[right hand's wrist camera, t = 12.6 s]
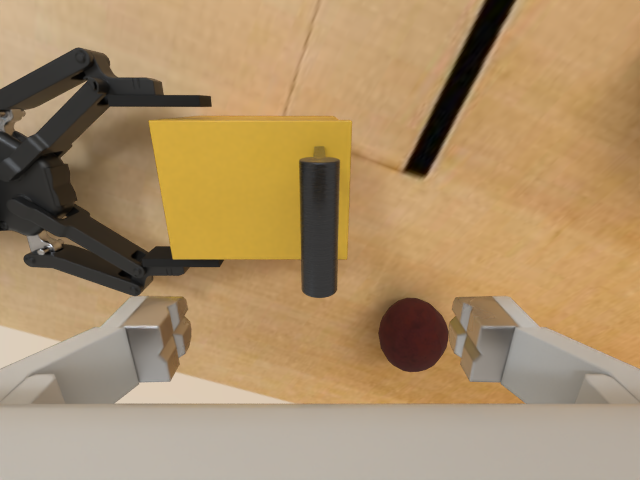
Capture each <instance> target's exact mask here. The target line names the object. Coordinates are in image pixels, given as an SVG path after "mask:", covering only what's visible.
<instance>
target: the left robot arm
mask: <svg viewBox="0 0 640 480" xmlns="http://www.w3.org/2000/svg"><path fill="white" fill-rule="evenodd" d="M109 66H110V61H109V58H108V57H107V56H106V55H105V54H103V53H99V52H95V51H91V50H87V49H82V48H75V49H73V50H71V51H70V52H68V53H66V54H64V55H62V56H60V57H59V58H57V59H55V60H53V61H51V62H50V63H48V64H46V65H44V66H42V67H40V68H39V69H37V70H35V71H33V72H31V73H29V74H28V75H26V76H24V77H22V78H20V79H18V80H17V81H15V82H13V83H11V84H9V85H7V86H6V87H4V88H2V89H0V231H6V230H11V231H15V232H18V233H20V234H23V235H26V236H27V239H28V242H29V246H30V249H31V253H29V254H27V255H25V256H24V262H25V263H26V264H27V265H28V266H30V267H42V268H54V269H57V270H60V271H63V272H66V273H68V274H71V275H74V276H77V277H80V278H83V279H86V280H89V281H92V282H95V283H97V284H100V285H103V286H106V287H109V288H112V289H115V290H118V291H121V292H124V293H126V294H129V295H132V296H138V295H139V294H140V293H141V292H142V291H143V290H144V289H145V288H146V287H147V286H148V285H149V284H150V283H151V282H152V281H153V276H167V275H168V276H172V275H173V276H179V275H182V274H184V273H185V272H186V271H187V270H188V268H189V267H220V266H221V264H222V262H223V261H224V259H173V258H172V252H171V247H170V246H156V247H155V248H154V249H152V250H151V251H150V252H147V251H145V250H144V249H142V248H140V247H139V246H137V245H135V244H134V243H132V242H130V241H129V240H127V239H126V238H124V237H122V236H121V235H119V234H117V233H116V232H114V231H112V230H111V229H109V228H107V227H106V226H104V225H102V224H101V223H99V222H98V221H96V220H94V219H93V218H91V217H90V213H89V212H87V211H86V210H84V209H82V208H81V207H79V206H78V205H76V204H74V201H77V197H76V194H75V191H74V189H73V187H72V185H71V183H70V171H69V168H68V164H64V163H63V161H62V160H61V159H60V158H61V157H62V156H63V155H64V154H65V153H66V152H67V151H68V150H69V149H70V148H71V147H72V143H73V142H74V141H75V140H76V139H77V138H78V137H79V136H80V135H81V134H82V133H83V132H84V131H85V130H86V129H87V128H88V127H89V126H90V125H91V124H92V123H93V122H94V121H95V120H96V119H97V118H98V117H99V116H101V115H102V114H103V113H104V112H105V111H106V110H107V109H108V108H109V107H110V106H117V107H212V105H211V96H201V95H164V94H163V88H162V82H160V81H158V80H155V79H151V78H118V77H117V76H115V75H114V74H113V72H112V71H111V69H110V67H109ZM87 80H88V81H87ZM85 81H87V82H86V83H85V84H84V85H83V86H82V87H81V88H80V89H79V90H78V91H77V92H76V93H75V94H74V95H73V96H72V97H71V98H70V99H69V100H68V102H67V103H66V104H65V105H64V106H63V107H62V108H61V109H60V110H59V111H58V112H57V113H56V114H55V115H54V116H53V117H52V118H51V119H50V120H49V121H48V122H47V123H46V124H45V125H44V126H43V127H42V128H41V129H40V130H39V131H38V132H37V133H36V134H34V135H32V136H30V137H26V136H25V135H23V134H21V133H20V132H17V131H14V124H15V122H17V121H19V120H21V119H22V117H24V116H25V111H24V110H26V109H31V108H35V107H37V106H39V105H41V104H43V103H45V102H47V101H49V100H51V99H53V98H55V97H57V96H58V95H60V94H62V93H64V92H66V91H68V90H70V89H72V88H74V87H76V86H77V85H79V84H81V83H83V82H85ZM64 216H67V218H65V219H62V218H63V217H64ZM46 231H48V232H50V233H52V234H53V235H55V236H58V237H66V238H69V239H70V240H72V241H74V242H75V243H77V244H79V245H81V246H82V247H84V248H86V249H87V250H85V249H82V248H80V247H76V246H73V245H67V244H64V242H63V240H61V239H58V240H56V239H53V238H51V237H49V236H48V235H47V233H46ZM88 250H89V251H88Z"/></svg>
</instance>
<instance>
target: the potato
mask: <svg viewBox="0 0 640 480" xmlns="http://www.w3.org/2000/svg"><path fill="white" fill-rule="evenodd" d="M379 339H380V345H381V349H382V351H383V352H384V354H385V356H386V357H387V359H388V361H389V362H390V363H391V364H393V365H394V366H396V367H398V368H399V369H401V370H403V371H408V372H419V371H423V370H426V369H428V368H430V367H432V366H433V365H435V363H436V362H437V361H438V360H439V358H440V357H441V356H442V354H443V353H444V351H445V349H446V347H447V342H448V328H447V325H446V322H445V320H444V319H443V317H442V315H441V314H440V313H439V312H438V311H437V310H436V309H435V308H434V307H433V306H431V305H430V304H429V303H427V302H425V301H422V300H420V299H417V298H405V299H402V300H399V301H397V302H396V303H395V304H393V305H392V306H391V307H390V308H389V309H388V311H387V312H386V313H385V315H384V316H383V318H382V320H381V323H380V328H379Z"/></svg>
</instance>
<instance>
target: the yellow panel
mask: <svg viewBox="0 0 640 480" xmlns="http://www.w3.org/2000/svg"><path fill="white" fill-rule="evenodd" d="M149 127H150V133H151V139H152V144H153V150H154V156H155V161H156V167H157V173H158V178H159V184H160V190H161V195H162V201H163V207H164V212H165V218H166V224H167V229H168V235H169V241H170V247H171V252H172V258H173V259H301V280H302V291H303V293H304V294H306V295H308V296H310V297H315V298H324V297H329V296H331V295H333V294H334V293H335V292H336V291H337V271H338V259H347V251H348V222H349V194H350V165H351V136H352V121H350V120H149Z"/></svg>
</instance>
